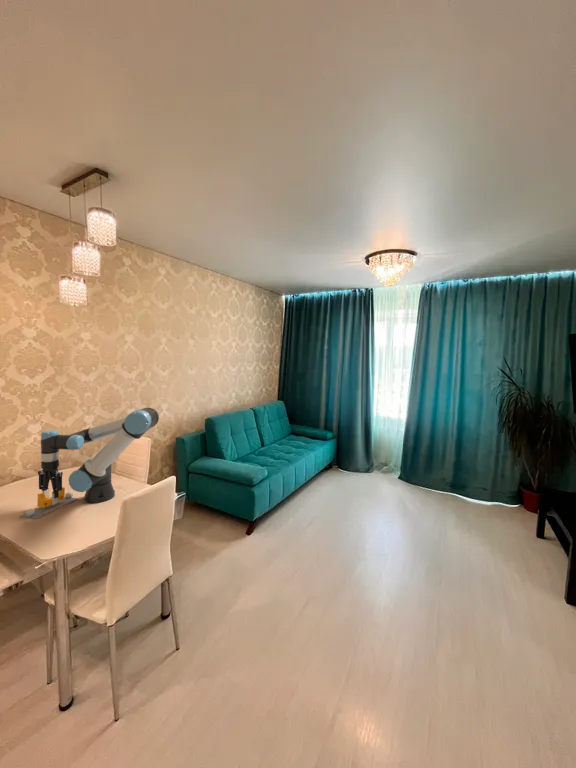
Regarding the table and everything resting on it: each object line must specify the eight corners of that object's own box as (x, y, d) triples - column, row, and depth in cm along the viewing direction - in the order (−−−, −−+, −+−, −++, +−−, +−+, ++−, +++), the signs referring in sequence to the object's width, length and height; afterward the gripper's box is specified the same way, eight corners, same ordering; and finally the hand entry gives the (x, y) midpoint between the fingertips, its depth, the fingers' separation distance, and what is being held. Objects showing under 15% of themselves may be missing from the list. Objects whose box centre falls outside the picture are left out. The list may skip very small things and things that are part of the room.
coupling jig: (77, 499, 181) (77, 492, 181) (36, 519, 158) (36, 511, 157) (63, 497, 183) (63, 490, 183) (20, 516, 160) (20, 509, 159)
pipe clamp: (42, 508, 165) (42, 495, 164) (37, 506, 166) (37, 494, 166) (66, 499, 176) (66, 488, 175) (61, 498, 177) (61, 486, 177)
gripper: (70, 459, 171) (70, 502, 172) (42, 456, 174) (43, 498, 176) (57, 463, 163) (58, 508, 165) (29, 460, 167) (29, 504, 168)
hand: (50, 503), depth 170 cm, fingers closed on pipe clamp, 5 cm apart
